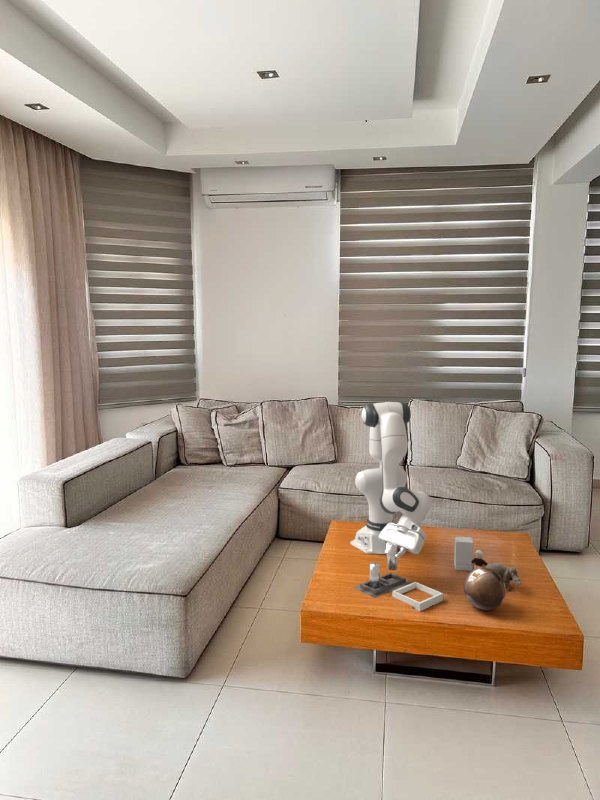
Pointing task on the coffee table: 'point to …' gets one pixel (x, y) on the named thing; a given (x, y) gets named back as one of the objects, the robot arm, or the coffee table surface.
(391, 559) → the ball
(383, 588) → the tray
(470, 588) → the brown metallic sphere
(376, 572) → the seated billet
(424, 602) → the white square frame
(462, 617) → the coffee table surface
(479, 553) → the grandmother figurine
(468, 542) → the supplement box
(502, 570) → the rhinoceros figurine
